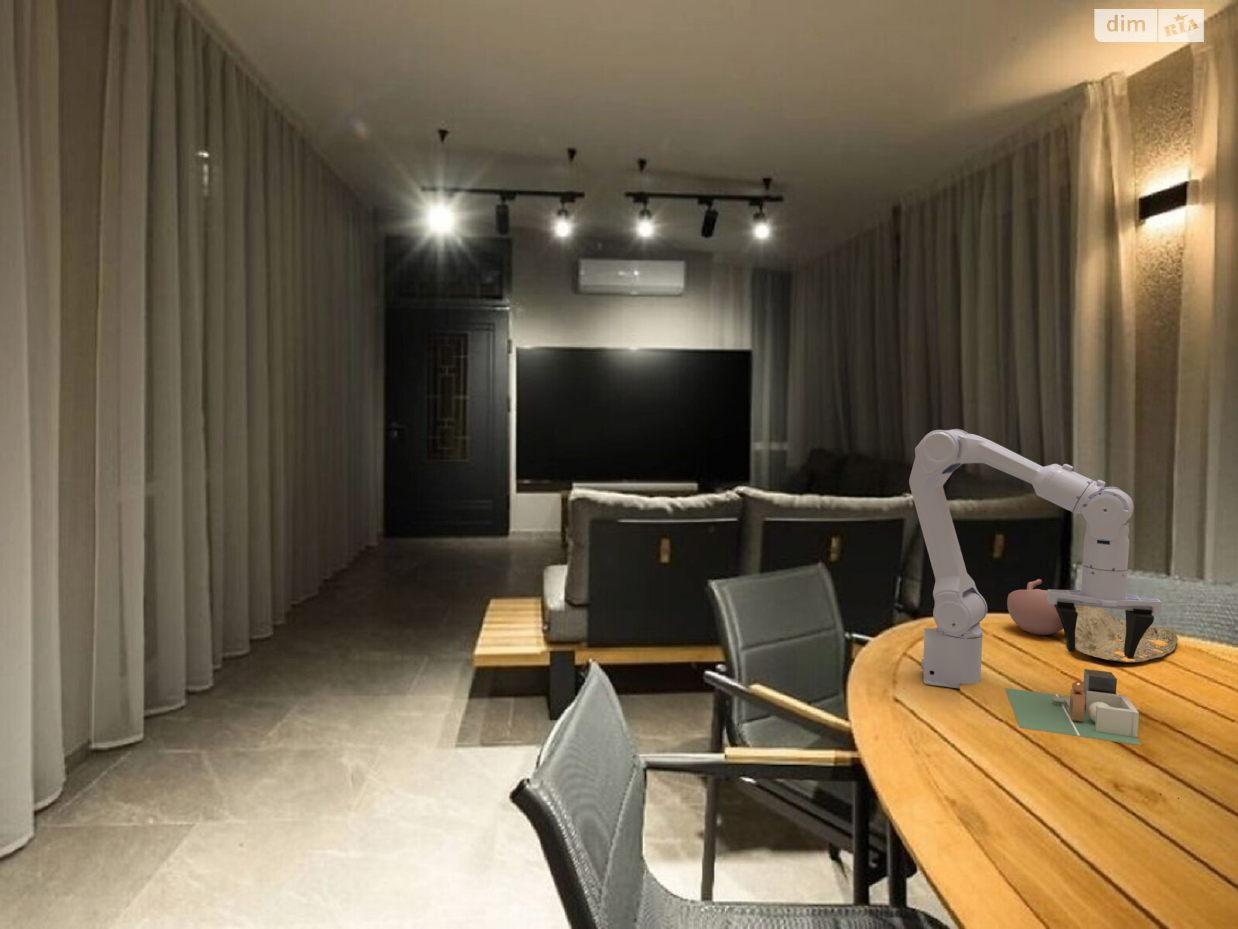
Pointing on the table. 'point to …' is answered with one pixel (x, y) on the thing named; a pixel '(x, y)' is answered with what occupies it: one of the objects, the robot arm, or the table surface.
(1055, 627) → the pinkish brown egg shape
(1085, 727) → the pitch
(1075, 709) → the knob lever
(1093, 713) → the ball
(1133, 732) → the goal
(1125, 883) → the table surface
